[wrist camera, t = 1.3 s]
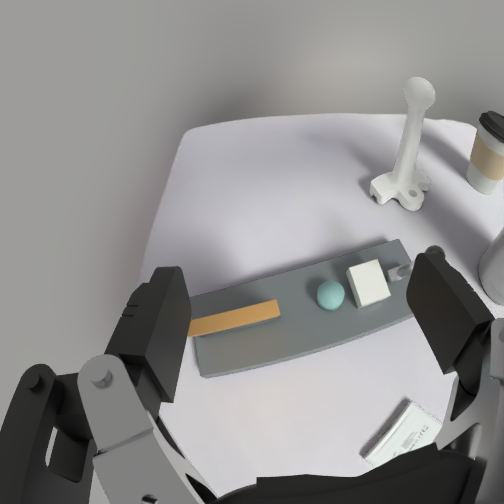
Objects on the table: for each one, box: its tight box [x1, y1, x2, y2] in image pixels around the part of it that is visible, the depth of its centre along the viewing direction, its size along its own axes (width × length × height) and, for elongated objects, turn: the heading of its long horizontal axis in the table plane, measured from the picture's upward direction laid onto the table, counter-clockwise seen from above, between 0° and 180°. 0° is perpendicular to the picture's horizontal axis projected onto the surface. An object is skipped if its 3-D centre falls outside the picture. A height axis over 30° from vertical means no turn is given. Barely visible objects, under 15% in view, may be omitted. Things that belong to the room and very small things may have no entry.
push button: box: [317, 281, 345, 311], centre depth 29 cm, size 3×3×2 cm
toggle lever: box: [385, 245, 445, 284], centre depth 25 cm, size 3×2×10 cm
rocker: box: [346, 259, 391, 309], centre depth 29 cm, size 4×4×2 cm
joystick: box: [369, 77, 435, 211], centre depth 31 cm, size 11×8×20 cm
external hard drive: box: [363, 401, 443, 468], centre depth 19 cm, size 2×8×12 cm
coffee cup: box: [466, 111, 504, 195], centre depth 32 cm, size 9×9×15 cm
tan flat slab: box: [187, 299, 281, 338], centre depth 24 cm, size 9×2×14 cm, turn 102°
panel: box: [190, 239, 414, 378], centre depth 31 cm, size 28×10×2 cm, turn 102°
